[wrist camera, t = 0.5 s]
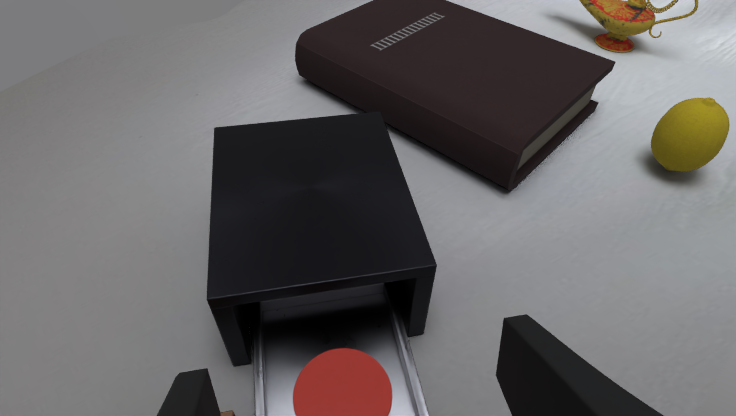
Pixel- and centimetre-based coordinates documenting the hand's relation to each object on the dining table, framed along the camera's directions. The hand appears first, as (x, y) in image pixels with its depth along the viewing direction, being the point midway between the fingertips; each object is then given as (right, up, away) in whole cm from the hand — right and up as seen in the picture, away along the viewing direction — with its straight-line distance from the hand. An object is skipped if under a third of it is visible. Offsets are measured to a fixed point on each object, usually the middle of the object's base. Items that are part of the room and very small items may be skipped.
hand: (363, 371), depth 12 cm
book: (+9, +17, +44) cm, 48 cm away
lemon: (+29, +8, +35) cm, 47 cm away
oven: (-4, 0, +27) cm, 27 cm away
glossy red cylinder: (-1, -9, +17) cm, 19 cm away
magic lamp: (+32, +27, +54) cm, 69 cm away
